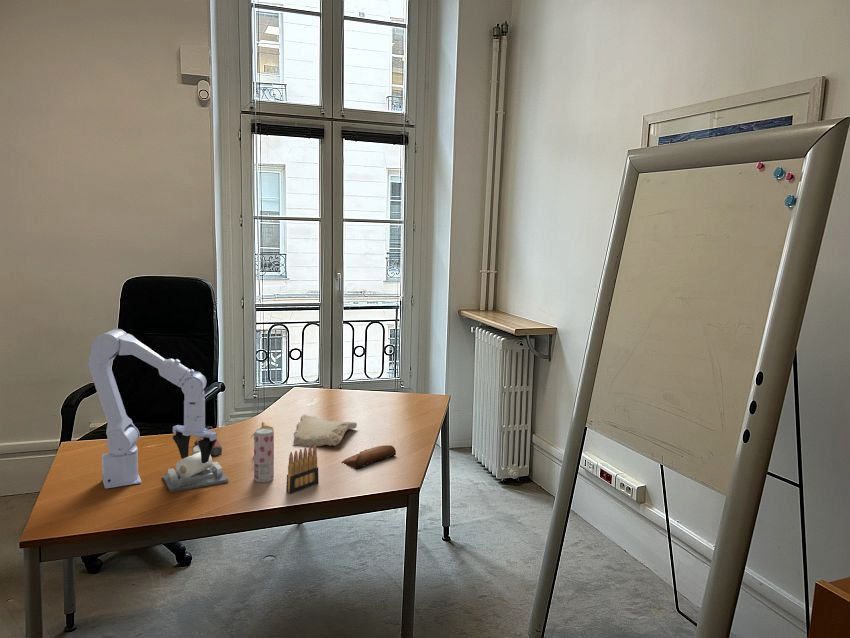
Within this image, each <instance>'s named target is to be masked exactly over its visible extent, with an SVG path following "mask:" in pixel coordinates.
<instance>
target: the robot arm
mask: <svg viewBox="0 0 850 638" xmlns="http://www.w3.org/2000/svg"><path fill="white" fill-rule="evenodd" d="M90 347H91V350H90V355H89V359H88V362H87V365H88V370H89V372H90V375H91V378H92V380H93V381H92V382H93V384H94V387H95V390H96V393H97V396H98V400H99V403H100V405H101V408H102V411H103V413H104V416H105V420H106V422H107V425H106V433H105V434H106V437H107V439H106V440H107V441H106V448H107V450H108V451H109V452H108V453H102V454H101V471H102V472H101V480H102V483H103V487H104V489H110V488H111V489H112V488H118V487H125V486H131V485H136V484H141V483H142V479H141V477H140V474H139V459H138V458H139V455H138V453H139V452H138V446H137V445H136V444H137V442H138V441H139V439H140V434H141V433H140V431H139V429H138V428H137V426H135V424H134V423H133V420H132V418H130V417H129V416H128V414H127V412H126V409H125V405H124V404H123V399H122V396H121V394H120V392H119V388H118V385H117V381H116V378H115V376H114V372H113V370H112V366H111V364H112V362H113V361H114V360H115V358H116V357H117V355H118V356H129V355H130V356H131V355H132V356H134V357H136V358H138V359H140V360H141V361H143V362H145V363H147V364H148V365H150V366H152V367H153V368H156V369H157V370H158V374H159V376H160V377H162V378H163V379H166V380H167V381H168V382H170V383H171V384H173V385H175V386H177V387H179V388H180V389H181V391H182V393H183V394H184V400H183V425H180V424H177V425H174V426H172V433H173V434H174V435H173V436H172V440H173V441H174V442H175V444H176V446H177V449H178V451H179V455H180V458H181V460H182V459H184V458H187V457H189V453H190V452H189V451H190V450H189V449H190V441H191V440H190V439H191V436H192V437H197V438H203V439H202V440H200V441H198V444H199V446H200V450H201V461H202V463H206V462H208V461H209V457H210V453H211V450H212V448H213V446H214V444H215V442H216V441H218V439H217V438H218V433H217V432H215V431H213V430H210V429H208V428H206V399H205V396H206V394H205V390H204V389H205V388H206V387H207V378H206V376H205V375H204V374H203V373H202V372H200V371H195V370H194V369H192V368H191V369H190V368H188V367H186V366H185V365H183V364H182V363H181V360H180V359H178V358H176V359H174V358H168V359H167V358H164V357H163V356H161V355H160V354H159V353H157V352H155V351H154V350H152V348H150V347H149V346H147V345H146V344H144V343H142V342H141V341H140V340H139V339H137V338H136V337H135V336H134V335H133V334H130V333H127V332H126V331H124V330H123V329H121V328H113V329H111V330H109V331H107V332H105V333H101V334H100V335H98V336H97V337H96V338H95V339H94V341H93V342H92V343H91V345H90Z"/></svg>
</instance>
